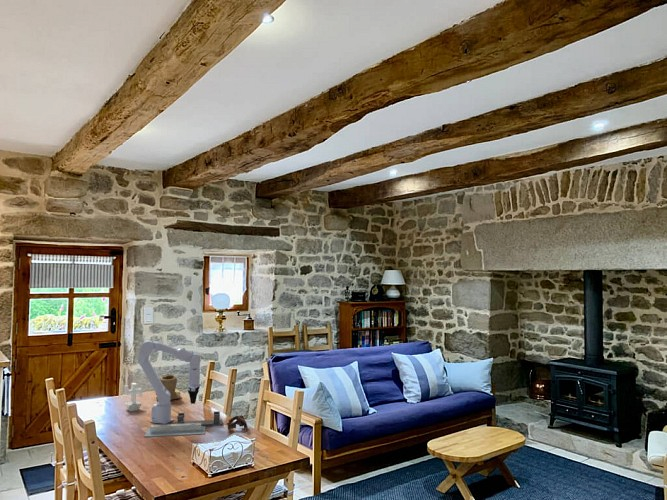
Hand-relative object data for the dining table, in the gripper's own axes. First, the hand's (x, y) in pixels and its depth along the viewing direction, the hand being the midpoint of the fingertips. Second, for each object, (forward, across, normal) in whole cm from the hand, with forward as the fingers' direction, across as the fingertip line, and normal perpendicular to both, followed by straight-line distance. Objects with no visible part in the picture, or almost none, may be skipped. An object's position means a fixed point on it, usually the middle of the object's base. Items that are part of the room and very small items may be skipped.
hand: (193, 401), depth 267 cm
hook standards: (+9, -9, -4) cm, 14 cm away
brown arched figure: (+10, -21, -24) cm, 33 cm away
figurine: (+10, +23, +34) cm, 43 cm away
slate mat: (+9, -20, +7) cm, 23 cm away
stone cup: (+10, +43, +17) cm, 48 cm away
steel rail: (+9, -20, +7) cm, 23 cm away
